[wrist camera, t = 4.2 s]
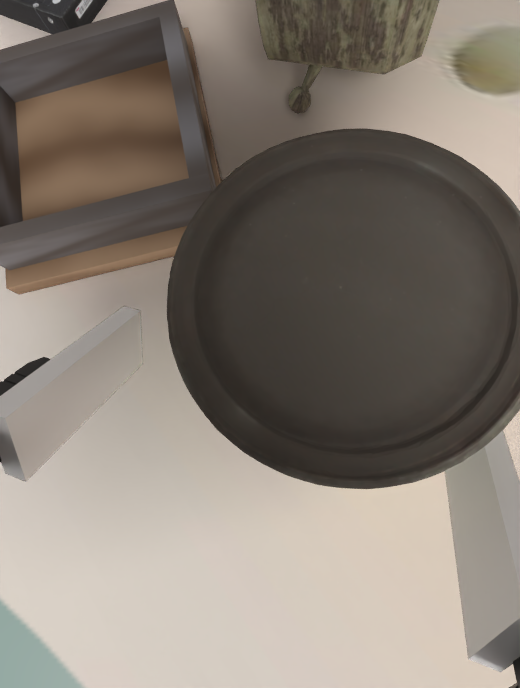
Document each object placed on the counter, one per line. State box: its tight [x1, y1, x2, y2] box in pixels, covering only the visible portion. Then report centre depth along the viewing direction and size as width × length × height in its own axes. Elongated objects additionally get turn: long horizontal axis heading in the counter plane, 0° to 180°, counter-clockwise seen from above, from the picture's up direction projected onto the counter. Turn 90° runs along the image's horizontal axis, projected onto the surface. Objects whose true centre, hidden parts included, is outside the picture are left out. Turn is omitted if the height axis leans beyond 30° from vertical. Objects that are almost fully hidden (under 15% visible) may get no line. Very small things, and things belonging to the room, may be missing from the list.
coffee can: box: [167, 129, 520, 489], centre depth 17 cm, size 10×10×14 cm
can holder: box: [0, 0, 221, 294], centre depth 27 cm, size 18×16×4 cm
